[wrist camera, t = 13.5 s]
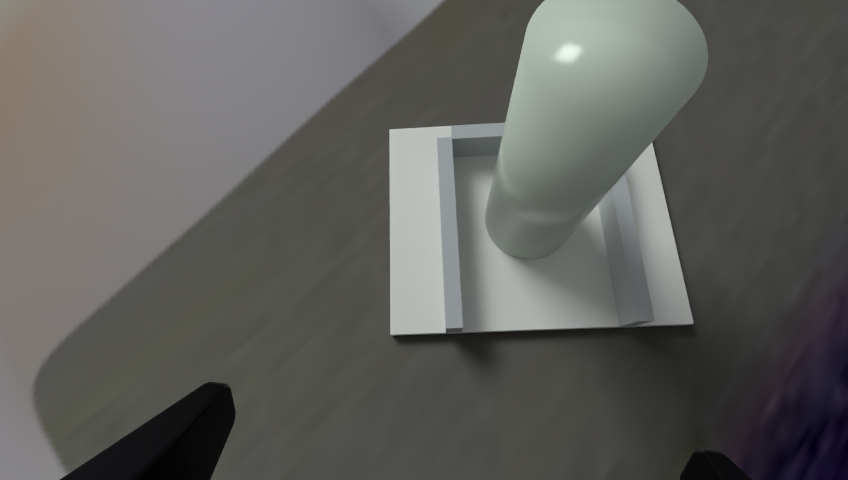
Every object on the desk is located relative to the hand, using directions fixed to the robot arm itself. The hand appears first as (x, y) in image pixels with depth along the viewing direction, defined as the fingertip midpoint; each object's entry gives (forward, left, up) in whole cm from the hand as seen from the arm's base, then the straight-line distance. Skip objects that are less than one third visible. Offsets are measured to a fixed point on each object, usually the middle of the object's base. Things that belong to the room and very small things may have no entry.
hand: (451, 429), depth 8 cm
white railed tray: (+9, -5, -13) cm, 17 cm away
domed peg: (+9, -5, -13) cm, 16 cm away
